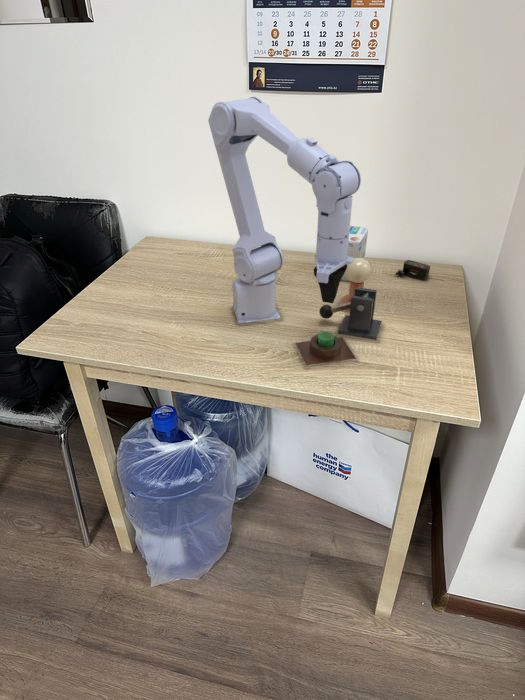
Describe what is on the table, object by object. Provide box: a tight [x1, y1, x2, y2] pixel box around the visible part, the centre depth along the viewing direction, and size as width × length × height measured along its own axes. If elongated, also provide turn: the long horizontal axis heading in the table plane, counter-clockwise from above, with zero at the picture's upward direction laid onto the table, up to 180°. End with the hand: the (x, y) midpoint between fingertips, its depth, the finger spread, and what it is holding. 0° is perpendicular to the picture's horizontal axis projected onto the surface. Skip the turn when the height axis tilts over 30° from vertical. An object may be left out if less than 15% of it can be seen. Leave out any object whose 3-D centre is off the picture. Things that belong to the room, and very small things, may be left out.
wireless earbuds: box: [395, 259, 431, 281], centre depth 132 cm, size 5×7×3 cm, turn 51°
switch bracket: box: [337, 287, 383, 341], centre depth 109 cm, size 8×7×9 cm
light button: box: [317, 331, 335, 347], centre depth 102 cm, size 3×3×2 cm
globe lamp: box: [340, 258, 372, 312], centre depth 116 cm, size 6×6×12 cm
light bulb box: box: [340, 225, 369, 282], centre depth 132 cm, size 11×7×11 cm, turn 159°
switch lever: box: [318, 293, 370, 320], centre depth 109 cm, size 11×3×3 cm, turn 71°
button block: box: [295, 333, 357, 366], centre depth 103 cm, size 10×8×3 cm
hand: (328, 301), depth 100 cm, fingers closed
